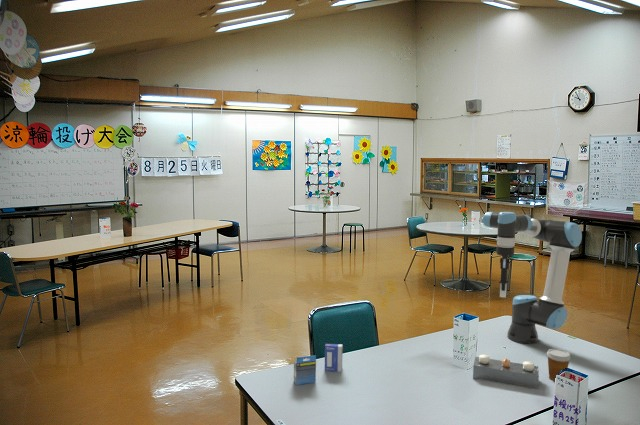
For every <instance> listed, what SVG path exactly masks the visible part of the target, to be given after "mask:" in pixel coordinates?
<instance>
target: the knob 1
mask: <svg viewBox="0 0 640 425" xmlns="http://www.w3.org/2000/svg"><path fill="white" fill-rule="evenodd" d="M478 357H479V362H480V363H481V364H488V363H489V359H491V358H490V355H487V354H479V355H478Z"/></svg>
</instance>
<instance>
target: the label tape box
mask: <svg viewBox="0 0 640 425" xmlns="http://www.w3.org/2000/svg"><path fill="white" fill-rule="evenodd" d="M295 361H296V362H294V363H293V383H294V384H295V385H296V386H301V385H306V384H312V383H316V382H317V380H316V377H317V355H316V354H314V355H306V356H298V357H297V356H296V360H295Z"/></svg>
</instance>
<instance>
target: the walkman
mask: <svg viewBox="0 0 640 425" xmlns="http://www.w3.org/2000/svg"><path fill="white" fill-rule="evenodd" d="M343 349H344V347H343V344H341V343H340V344H338V343H337V344H336V343H325V344H324V371H325V372H340V373H341V372H342V371H343V355H344V354H343V352H344V351H343Z"/></svg>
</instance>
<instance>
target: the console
mask: <svg viewBox="0 0 640 425" xmlns="http://www.w3.org/2000/svg"><path fill="white" fill-rule="evenodd" d="M472 367H473V369H472V379H473V380H479V381H485V382H492V383H495V384H496V383H497V384H503V385H510V386H514V387H515V386H516V387H520V388H525V389H526V388H527V389H533V390H537V391H538V390H539V378H540V376H539V375H540V374H539V366H538V365H534V370H533V371H525V370H524V369H523V363H519V362H512V361H510V367H503V366H502V360H499V359H493V358H490V359H489V363H488V364H481V363H480V362H479V356H475V357H474V362H473V366H472Z"/></svg>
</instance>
